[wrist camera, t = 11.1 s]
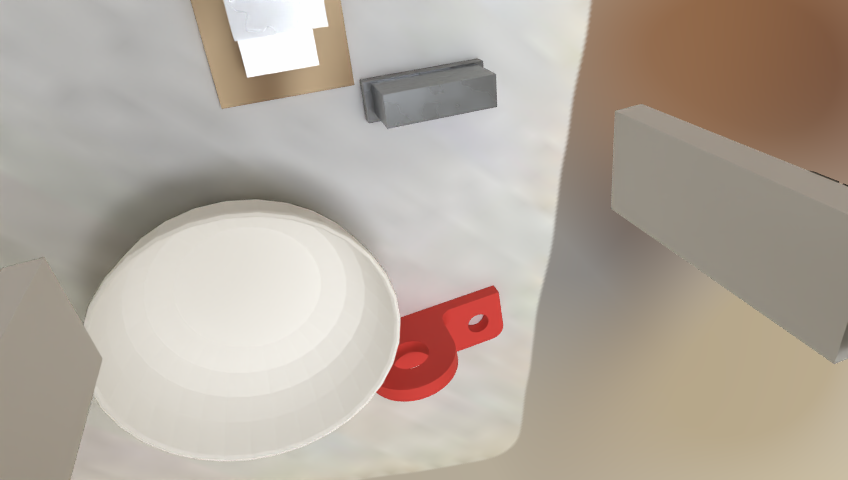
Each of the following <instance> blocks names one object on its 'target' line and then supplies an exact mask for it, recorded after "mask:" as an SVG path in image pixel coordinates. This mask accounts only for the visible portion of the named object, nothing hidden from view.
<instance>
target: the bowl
mask: <svg viewBox="0 0 848 480" xmlns="http://www.w3.org/2000/svg"><path fill="white" fill-rule="evenodd" d="M83 325H84V327H85V329H86V331H87V332H88V334H89V336H90V337H91V339H92V341H93V343H94V344H95V346H96V348H97V350H98V351H99V353H100V355H101V357H102V358H103V359H102V363H101V367H100V371H99V374H98V378H97V382H96V386H95V389H94V393H93V395H94V397H95V399H96V400H97V402H98V404H99V405H100V407H101V409H102V410H103V411H104V412H105V413H106V414H107V415H108V416H109V417H110V418H111V419H112V420H113V421H114V422H115V423H116V424H117V425H118V426H119V427H120V428H122V429H123V430H125V431H126V432H128V433H129V434H131V435H132V436H134V437H136V438H137V439H139V440H140V441H142V442H144V443H146V444H148V445H151V446H153V447H156V448H158V449H160V450H163V451H165V452H167V453H172V454H176V455H180V456H184V457H188V458H193V459H200V460H212V461H240V460H253V459H258V458H264V457H269V456H274V455H279V454H282V453H285V452H288V451H291V450H294V449H297V448H300V447H303V446H306V445H308V444H310V443H312V442H314V441H316V440H318V439H320V438H322V437H324V436H326V435H328V434H330V433H331V432H332V431H334V430H335V429H337V428H338V427H340V426H341V425H343V424H344V423H346V422H347V421H349V420H350V419H351V418H352V417H353V416H354V415H355V414H357V413H358V412H359V411H360V410H361V409H362V408H363V407H364V406H365V405H366V404H367V403H368V402H369V401H370V400H371V398H372V397H373V396H374V394H375V393H376V392H377V391H378V389H379V388H380V387H381V385H382V384H383V382H384V380H385V378H386V376H387V374H388V373H389V371H390V369H391V367H392V365H393V362H394V359H395V355H396V352H397V348H398V345H399V339H400V312H399V307H398V302H397V297H396V293H395V291H394V289H393V287H392V284H391V282H390V280H389V278H388V276H387V274H386V272H385V271H384V269H383V268H382V267H381V266H380V264H379V263H378V262H377V261H376V259H375V258H374V257H373V255H372V254H371V253H370V252H369V251H368V250H367V249H366V248H365V247H364V246H363V245H362V244H361V243H360V242H359V241H358V240H357V239H356V238H354V237H353V236H352V235H351V234H349V233H348V232H347V231H346V230H345V229H343V228H342V227H341V226H340V225H338V224H337V223H336V222H334V221H332V220H330V219H328V218H326V217H324V216H322V215H320V214H318V213H316V212H315V211H312V210H309V209H306V208H302V207H299V206H296V205H292V204H289V203H285V202H276V201H267V200H258V199H252V200H236V201H224V202H219V203H215V204H211V205H207V206H203V207H198V208H194V209H192V210H190V211H187V212H185V213H183V214H181V215H178V216H176V217H174V218H172V219H169V220H167V221H165V222H164V223H162V224H161V225H159V226H158V227H156V228H155V229H153V230H152V231H151V232H149V233H148V234H146V235H145V236H143V237H142V238H141V239H140V240H139V241H138V242H137V243H136V244H135V245H134V246H133V247H132V248H131V249H130V250H129V251H128V252H127V253H126V254H125V255H124V256H123V257H122V258H121V260H120V261H119V262H118V263H117V264H116V265H115V266H114V268H113V269H112V270H111V271H110V272H109V273H108V274H107V276H106V277H105V278H104V279H103V281H102V283H101V285H100V286H99V288H98V290H97V291H96V293H95V295H94V296H93V298H92V300H91V301H90V303H89V305H88V309H87V312H86V316H85V319H84V323H83Z"/></svg>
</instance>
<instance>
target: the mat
mask: <svg viewBox="0 0 848 480" xmlns="http://www.w3.org/2000/svg"><path fill="white" fill-rule="evenodd" d="M191 3H192V7H193V10H194V14H195V17H196V21H197V24H198V28H199V31H200V35H201V38H202V42H203V45H204V49H205V52H206V56H207V59H208V63H209V66H210V70H211V73H212V76H213V80H214V83H215V87H216V90H217V94H218V97H219V101H220V104H221V108H222V109H224V108H229V107H235V106H240V105H246V104H252V103H257V102H263V101H268V100H274V99H279V98H285V97H290V96H296V95H301V94H307V93H312V92H318V91H323V90H329V89H335V88H340V87H346V86H351V85H354V80H353V74H352V68H351V62H350V56H349V49H348V43H347V37H346V31H345V25H344V19H343V13H342V7H341V1H340V0H324V5H325V10H326V16H327V21H328V26H326V27H320V28H314V29H312V30H313V35H314V40H315V45H316V50H317V56H318V61H319V65H316V66H311V67H305V68H299V69H294V70H288V71H282V72H277V73H271V74H265V75H260V76H254V77H248V78H247V74H246V70H245V66H244V63H243V59H242V55H241V51H240V47H239V44H238V41H234V39H233V35H232V31H231V27H230V23H229V20H228V16H227V12H226V8H225V5H224V1H223V0H191Z"/></svg>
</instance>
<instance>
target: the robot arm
mask: <svg viewBox="0 0 848 480" xmlns="http://www.w3.org/2000/svg"><path fill="white" fill-rule="evenodd" d="M611 201H612V202H611V209H612V210H614V211H615V212H617V213H618V214H620V215H621V216H622V217H624V218H625V219H627V220H628V221H630V222H631V223H633V224H634V225H636V226H637V227H638V228H640V229H641V230H643V231H644V232H646V233H647V234H648V235H650V236H651V237H653V238H654V239H655V240H657V241H658V242H660V243H661V244H663V245H664V246H665V247H667V248H669V249H670V250H671V251H673V252H674V253H676V254H677V255H678V256H680V257H681V258H683V259H684V260H686V261H687V262H688V263H690V264H691V265H693V266H694V267H696V268H697V269H698V270H700V271H701V272H703V273H704V274H706V275H707V276H709V277H710V278H711V279H713V280H714V281H716V282H717V283H719V284H720V285H721V286H723V287H724V288H726V289H727V290H729V291H730V292H732V293H733V294H734V295H736V296H737V297H739V298H740V299H742V300H743V301H744V302H746V303H747V304H749V305H750V306H752V307H753V308H754V309H756V310H757V311H759V312H760V313H762V314H763V315H765V316H766V317H767V318H769V319H770V320H772V321H773V322H775V323H776V324H777V325H779V326H780V327H782V328H783V329H785V330H786V331H787V332H789V333H790V334H792V335H793V336H795V337H796V338H798V339H799V340H800V341H802V342H803V343H805V344H806V345H808V346H809V347H810V348H812V349H814V350H815V351H816V352H818V353H819V354H820V355H822V356H823V357H825V358H826V359H828V360H829V361H831V362H832V363H833V364H835V363H838V362H840V361H843V360H846V359H848V185H846V184H840V183H839V181H836V180H834V179H831V178H829V177H826V176H823V175H821V174H818V173H816V172H813V171H808V170H805V169H802V168H800V167H797V166H795V165H793V164H790V163H787V162H785V161H782V160H780V159H777V158H775V157H773V156H770V155H768V154H765V153H762V152H760V151H757V150H755V149H753V148H750V147H748V146H745V145H742V144H740V143H738V142H735V141H733V140H730V139H728V138H725V137H723V136H720V135H718V134H715V133H713V132H710V131H708V130H705V129H703V128H700V127H698V126H695V125H692V124H690V123H688V122H685V121H683V120H680V119H678V118H675V117H673V116H670V115H668V114H665V113H663V112H660V111H658V110H655V109H653V108H650V107H648V106H645V105H643V104H640V105H637V106H633V107H629V108H625V109H621V110H617V111H615V127H614V150H613V176H612V200H611ZM102 359H103V358H102V357H101V355H100V353H99V351H98V350H97V348H96V346H95V344H94V343H93V341H92V339H91V337H90V336H89V334H88V332H87V331H86V329H85V327H84V325H83V324H82V322H81V320H80V318H79V317H78V315H77V313H76V311H75V310H74V308H73V306H72V304H71V303H70V301H69V299H68V297H67V296H66V294H65V292H64V290H63V289H62V287H61V285H60V283H59V282H58V280H57V278H56V276H55V275H54V273H53V271H52V270H51V268H50V266H49V264H48V263H47V261H46V259H45V257H42V258H38V259H35V260H31V261H27V262H23V263H19V264H15V265H11V266H7V267H3V268H2V270H1V271H0V480H70V479H71V475H72V472H73V468H74V464H75V460H76V457H77V453H78V449H79V445H80V442H81V438H82V434H83V430H84V427H85V423H86V419H87V415H88V412H89V408H90V404H91V401H92V397H93V393H94V389H95V386H96V382H97V378H98V374H99V371H100V367H101V363H102Z"/></svg>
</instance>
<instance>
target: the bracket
mask: <svg viewBox="0 0 848 480" xmlns="http://www.w3.org/2000/svg"><path fill="white" fill-rule="evenodd" d="M479 314H483V315H484V316H483V318H482V320H481V321H480V322H479V323H477V324H475V325H468V323H469V321H470V320H471V318H473V317H474V316H476V315H479ZM502 329H503V320H502V313H501V306H500V299H499V292H498V291H497V290H496V288H495V287H494V286H490V287H487V288H485V289H482V290H479V291H476V292H473V293H470V294H467V295H464V296H462V297H459V298H456V299H453V300H450V301H447V302H444V303H441V304H438V305H436V306H433V307H430V308H427V309H424V310H421V311H418V312H415V313H413V314H410V315H407V316H404V317H401V318H400V339H399V345H398V348H397V352H396V355H395V359H394V362H393V365H392V367H391V369H390V371H389V373H388V374H387V376H386V378H385V380H384V382H383V384H382V385H381V387H380V388H379V389H378V391H377V393H378V394H379V395H381V396H382V397H384V398H387V399H390V400H394V401H415V400H420V399H423V398H426V397H429V396H431V395H433V394H435V393H437V392H438V391H440V390H441V389H443V388H444V387H445V386H446V385H447V384H448V383H449V382H450V381H451V379H452V378H453V376H454V375H455V373H456V370H457V367H458V356H457V351H460V350H463V349H465V348H468V347H471V346H474V345H476V344H479V343H482V342H485V341H487V340H490V339H493V338H495V337H496V336H498V335H499V334H500V333H501V331H502ZM416 366H417V367H416ZM413 367H415V368H413ZM410 368H411V369H410Z"/></svg>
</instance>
